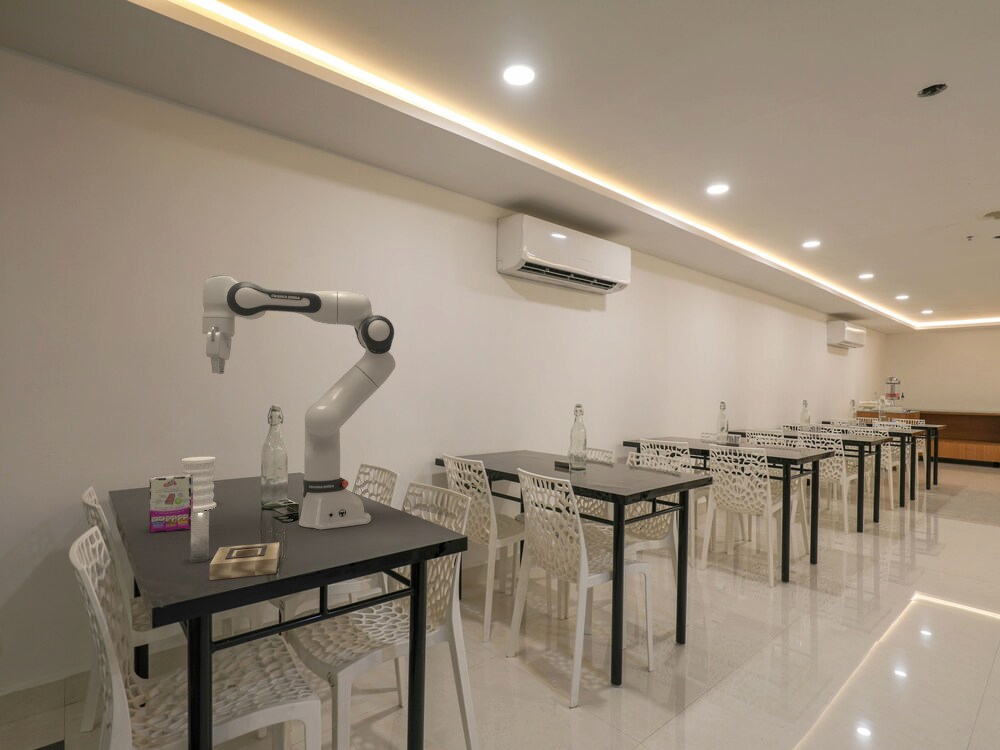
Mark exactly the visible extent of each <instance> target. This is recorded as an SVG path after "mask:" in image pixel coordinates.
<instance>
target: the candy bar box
mask: <svg viewBox="0 0 1000 750" xmlns="http://www.w3.org/2000/svg"><path fill="white" fill-rule="evenodd" d="M192 512H193V474H191V475H184V474H176V475H162V476H152V477H151V478H149V530H148V531H149V533H150V534H151V533H154V532H155V533H163V532H164V533H165V531H166V532H175V531H185V530H191V513H192Z"/></svg>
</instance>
